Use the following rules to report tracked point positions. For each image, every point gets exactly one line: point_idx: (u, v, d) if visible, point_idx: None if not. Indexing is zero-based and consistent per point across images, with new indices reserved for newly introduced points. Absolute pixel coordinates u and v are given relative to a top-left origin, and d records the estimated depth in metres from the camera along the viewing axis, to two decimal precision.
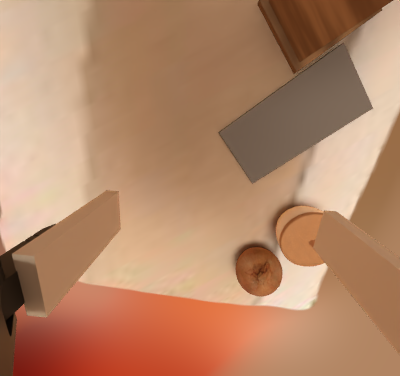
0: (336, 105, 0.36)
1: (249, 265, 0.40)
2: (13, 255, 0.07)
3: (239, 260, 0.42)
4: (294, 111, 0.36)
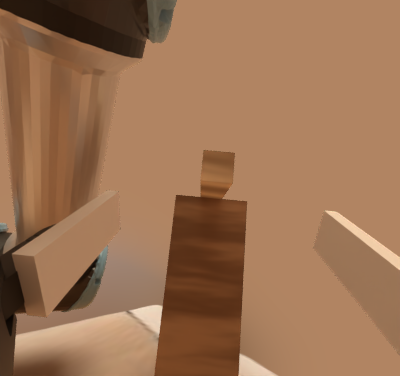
0: None
1: None
2: (13, 255, 0.07)
3: None
4: None
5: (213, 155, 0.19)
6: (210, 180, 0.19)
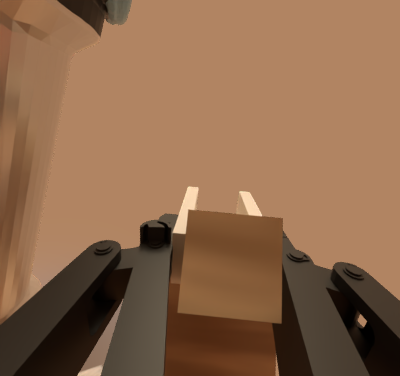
0: None
1: None
2: (173, 233, 0.09)
3: None
4: None
5: (218, 227, 0.06)
6: (209, 312, 0.06)
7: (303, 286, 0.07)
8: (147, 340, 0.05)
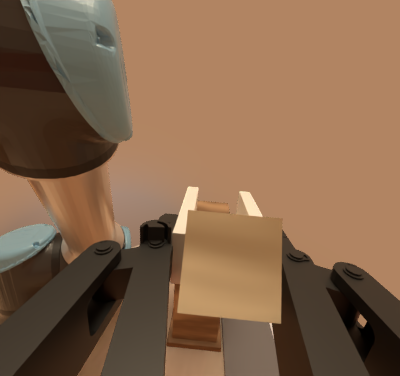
0: (257, 338, 0.48)
1: None
2: (173, 233, 0.09)
3: None
4: (247, 367, 0.42)
5: (217, 227, 0.06)
6: (208, 312, 0.06)
7: (303, 286, 0.07)
8: (147, 340, 0.05)
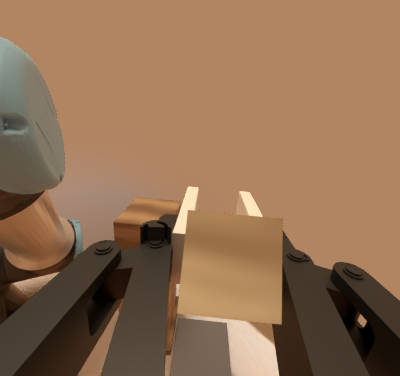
0: (211, 341, 0.46)
1: None
2: (173, 233, 0.09)
3: None
4: (194, 371, 0.40)
5: (218, 227, 0.06)
6: (209, 313, 0.06)
7: (303, 286, 0.07)
8: (147, 340, 0.05)
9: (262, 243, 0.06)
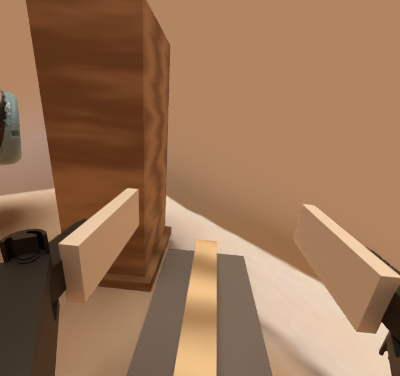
0: (220, 275, 0.28)
1: None
2: (59, 245, 0.07)
3: None
4: None
5: None
6: None
7: None
8: (6, 372, 0.04)
9: None
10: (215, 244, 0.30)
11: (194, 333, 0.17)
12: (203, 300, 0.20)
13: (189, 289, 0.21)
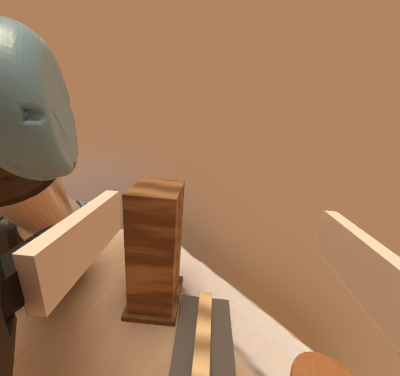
0: (213, 315, 0.48)
1: None
2: (13, 255, 0.07)
3: None
4: None
5: None
6: None
7: None
8: None
9: None
10: (211, 295, 0.50)
11: (200, 353, 0.37)
12: (204, 335, 0.41)
13: (196, 328, 0.42)
